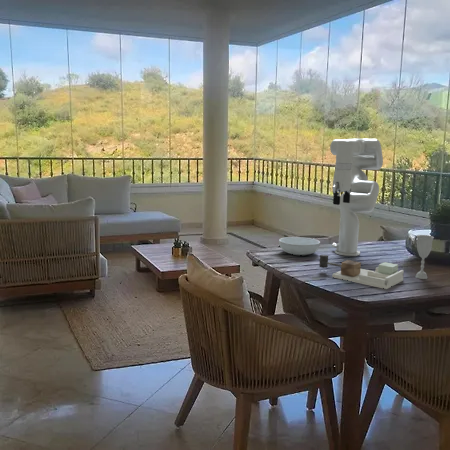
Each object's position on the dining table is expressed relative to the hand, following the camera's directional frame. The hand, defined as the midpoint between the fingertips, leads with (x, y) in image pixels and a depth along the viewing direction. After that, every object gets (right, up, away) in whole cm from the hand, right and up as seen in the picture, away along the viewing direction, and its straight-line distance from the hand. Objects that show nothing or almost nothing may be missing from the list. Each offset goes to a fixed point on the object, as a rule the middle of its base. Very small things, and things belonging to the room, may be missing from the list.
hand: (341, 203), depth 234 cm
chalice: (+30, -33, -18) cm, 48 cm away
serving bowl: (-17, -25, +21) cm, 37 cm away
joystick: (-6, -30, -18) cm, 36 cm away
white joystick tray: (+6, -33, -22) cm, 40 cm away
